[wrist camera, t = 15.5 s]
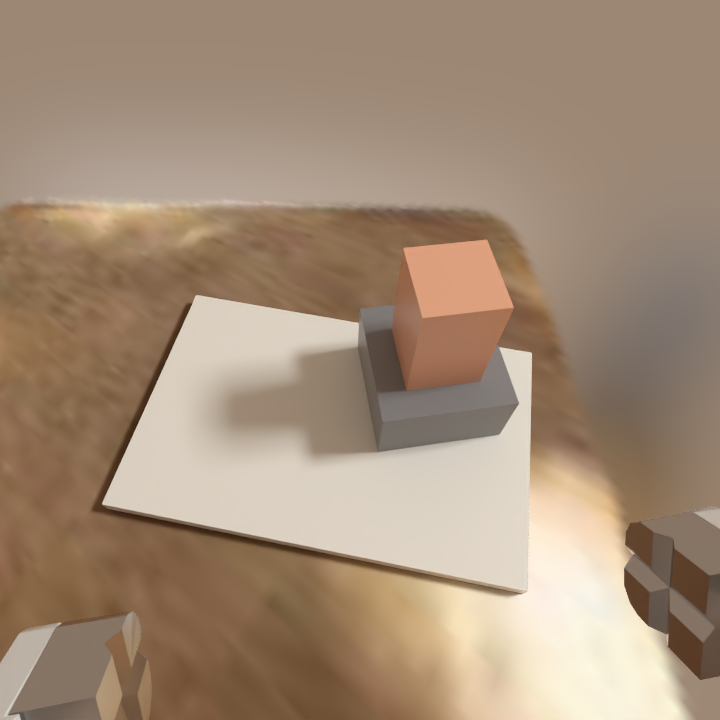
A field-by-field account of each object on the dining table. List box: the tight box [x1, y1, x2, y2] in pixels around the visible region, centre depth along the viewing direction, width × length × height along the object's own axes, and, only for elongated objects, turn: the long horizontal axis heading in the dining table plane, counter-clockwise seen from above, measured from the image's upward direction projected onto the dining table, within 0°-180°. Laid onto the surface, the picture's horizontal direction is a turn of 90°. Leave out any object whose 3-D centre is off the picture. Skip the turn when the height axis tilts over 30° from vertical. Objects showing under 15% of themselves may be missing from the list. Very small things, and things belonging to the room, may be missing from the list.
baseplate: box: [102, 295, 532, 594], centre depth 39 cm, size 28×18×1 cm, turn 79°
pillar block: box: [392, 240, 514, 391], centre depth 33 cm, size 5×5×8 cm
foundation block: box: [358, 305, 519, 452], centre depth 38 cm, size 9×9×5 cm
